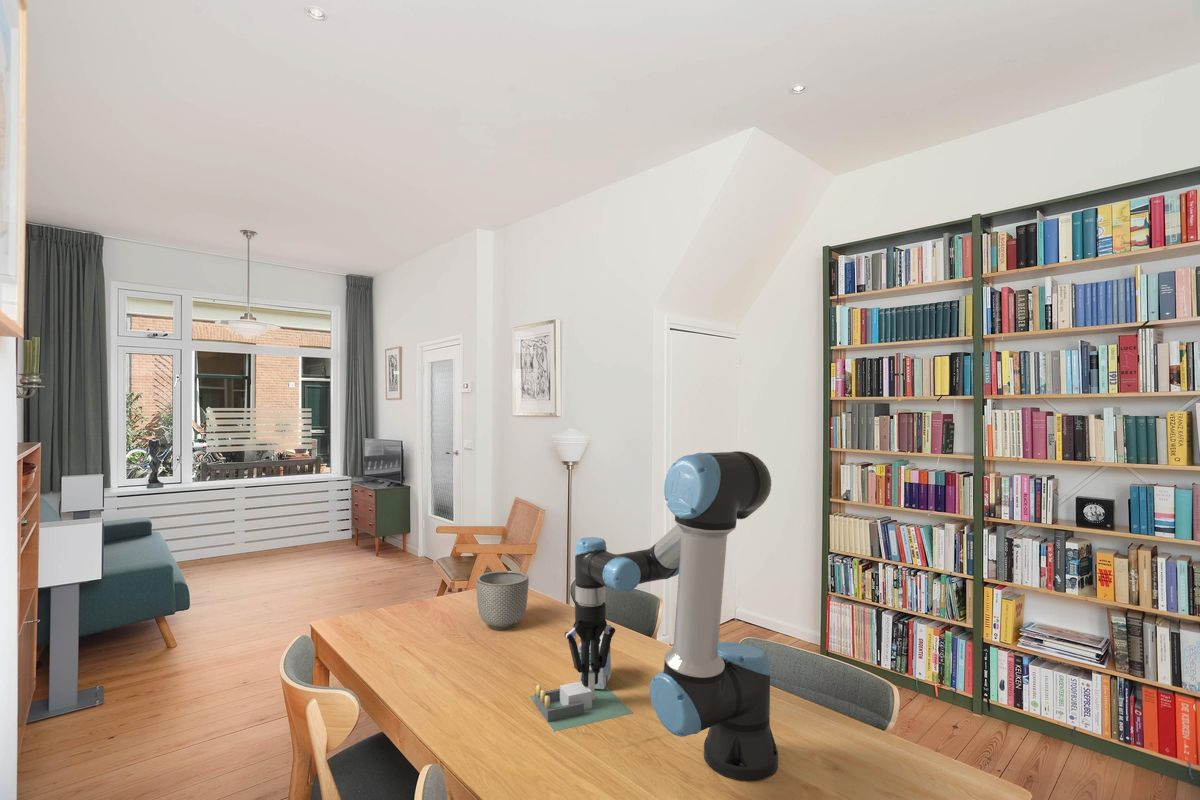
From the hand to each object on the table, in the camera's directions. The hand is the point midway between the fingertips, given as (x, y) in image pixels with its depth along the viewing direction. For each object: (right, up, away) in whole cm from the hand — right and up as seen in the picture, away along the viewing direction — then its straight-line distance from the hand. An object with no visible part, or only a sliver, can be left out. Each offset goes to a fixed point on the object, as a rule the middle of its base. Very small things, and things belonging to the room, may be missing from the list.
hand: (589, 697), depth 150 cm
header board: (-2, -2, -1) cm, 3 cm away
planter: (-30, -2, +53) cm, 61 cm away
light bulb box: (+1, -1, +11) cm, 11 cm away
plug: (-3, -1, -1) cm, 4 cm away
